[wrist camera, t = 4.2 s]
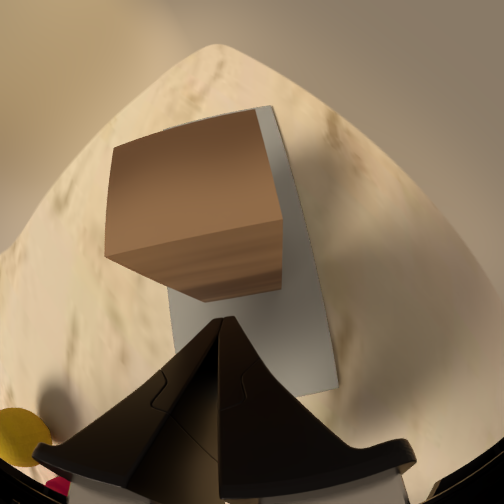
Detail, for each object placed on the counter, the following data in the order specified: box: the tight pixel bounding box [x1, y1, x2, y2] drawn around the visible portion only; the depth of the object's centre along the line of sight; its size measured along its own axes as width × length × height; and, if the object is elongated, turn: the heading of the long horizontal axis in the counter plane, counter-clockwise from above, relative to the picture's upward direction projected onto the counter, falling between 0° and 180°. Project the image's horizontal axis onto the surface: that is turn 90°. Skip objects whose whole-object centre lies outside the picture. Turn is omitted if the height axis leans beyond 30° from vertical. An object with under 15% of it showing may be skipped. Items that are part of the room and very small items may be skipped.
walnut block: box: [105, 109, 283, 303], centre depth 13 cm, size 4×5×11 cm
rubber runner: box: [163, 105, 339, 397], centre depth 19 cm, size 23×10×1 cm, turn 10°
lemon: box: [0, 408, 52, 467], centre depth 11 cm, size 6×6×8 cm
